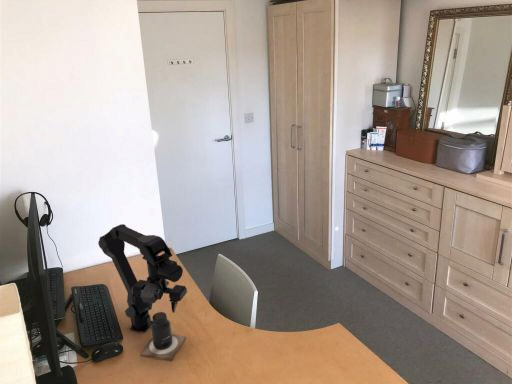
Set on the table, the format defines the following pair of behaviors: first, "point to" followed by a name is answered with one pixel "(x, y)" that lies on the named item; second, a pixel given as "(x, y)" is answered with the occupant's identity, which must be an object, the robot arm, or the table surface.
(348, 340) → the table surface
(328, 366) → the table surface
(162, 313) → the supplement bottle
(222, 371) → the table surface
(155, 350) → the walnut board
